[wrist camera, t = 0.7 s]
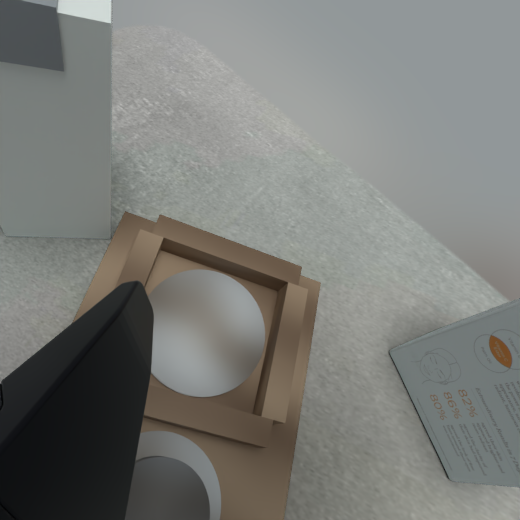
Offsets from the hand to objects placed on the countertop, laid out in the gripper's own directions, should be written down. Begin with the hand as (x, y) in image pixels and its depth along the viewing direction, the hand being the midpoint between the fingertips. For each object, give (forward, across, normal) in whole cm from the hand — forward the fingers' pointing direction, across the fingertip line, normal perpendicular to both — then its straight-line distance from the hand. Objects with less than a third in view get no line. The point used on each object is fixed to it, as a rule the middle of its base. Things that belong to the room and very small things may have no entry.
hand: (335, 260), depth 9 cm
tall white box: (+14, +12, +2) cm, 18 cm away
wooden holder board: (+6, +7, +10) cm, 14 cm away
